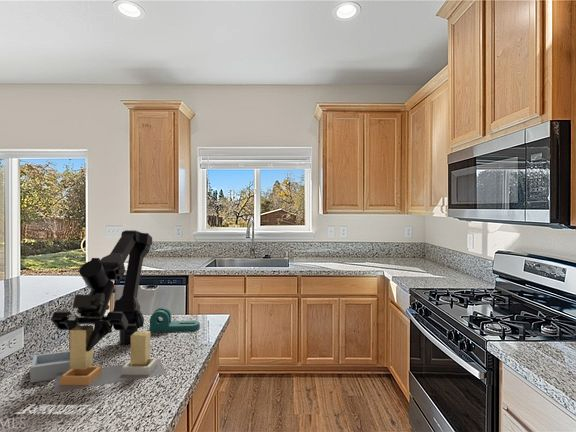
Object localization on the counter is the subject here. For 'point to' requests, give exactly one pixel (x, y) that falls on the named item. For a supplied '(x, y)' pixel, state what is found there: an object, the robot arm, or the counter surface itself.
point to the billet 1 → (80, 347)
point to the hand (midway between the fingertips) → (79, 350)
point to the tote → (49, 366)
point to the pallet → (106, 375)
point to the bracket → (170, 322)
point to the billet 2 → (140, 348)
